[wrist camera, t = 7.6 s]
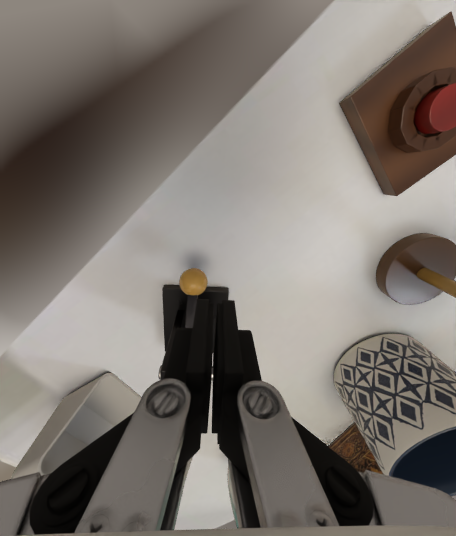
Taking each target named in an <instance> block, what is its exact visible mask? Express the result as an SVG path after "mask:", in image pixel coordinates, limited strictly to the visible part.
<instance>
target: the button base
mask: <svg viewBox="0 0 456 536" xmlns="http://www.w3.org/2000/svg"><path fill="white" fill-rule="evenodd" d="M453 83H456V26H455V22H454V19H453V15H452V12H449V13H448V14H446V15H445V16H444V17H442V18H441V19H439V20H438V21H436V22H435V23H433V24H432V25H430V26H429V27H428V28H427V29H426V30H424V31H423V32H422V33H421V34H420V35H419V36H417V37H416V38H415V39H414V40H413V41H411V42H410V43H409V44H408V45H407V46H406V47H404V48H403V49H402V50H401V51H400V52H399V53H397V54H396V55H395V56H394V57H393V58H392V59H390V60H389V61H388V62H387V63H386V64H384V65H383V66H382V67H381V68H380V69H379V70H377V71H376V72H375V73H374V74H373V75H372V76H370V77H369V78H368V79H367V80H366V81H364V82H363V83H362V84H361V85H360V86H359V87H357V88H356V89H355V90H354V91H353V92H352V93H350V94H349V95H348V96H347V97H346V98H344V99H343V100H342V101H341V102H340V103H339V104H340V106H341V108H342V110H343V112H344V114H345V116H346V118H347V120H348V122H349V124H350V126H351V128H352V130H353V132H354V134H355V136H356V138H357V140H358V142H359V144H360V146H361V148H362V150H363V152H364V155H365V157H366V159H367V161H368V163H369V165H370V167H371V169H372V171H373V173H374V175H375V177H376V179H377V181H378V183H379V185H380V187H381V189H382V191H383V193H384V194H385V195H392V196H398V195H399V194H401V193H402V192H403V191H405V190H406V189H408V188H409V187H410V186H412V185H413V184H415V183H416V182H418V181H419V180H420V179H422V178H423V177H425V176H426V175H427V174H429V173H430V172H432V171H433V170H435V169H436V168H437V167H439V166H440V165H442V164H443V163H444V162H446V161H447V160H449V159H450V158H452V157H453V156H454V155H456V127H454V128H452V129H451V130H448V131H444V132H438V133H433V134H423V133H421V132H419V131H418V130H417V128H416V126H415V122H414V117H415V112H416V109H417V107H418V105H419V103H420V102H421V100H422V99H423V98H424V97H425V96H426V95H427V94H429V93H430V92H432V91H434V90H437V89H439V88H442V87H445V86H447V85H450V84H453Z"/></svg>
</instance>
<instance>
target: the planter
mask: <svg viewBox="0 0 456 536" xmlns="http://www.w3.org/2000/svg"><path fill="white" fill-rule="evenodd" d="M334 384H335V387H336V389H337V391H338V392H339V394H340V396H341V398H342V400H343V402H344V403H345V405H346V407H347V409H348V411H349V413H350V414H351V416H352V418H353V420H354V422H355V423H356V425H357V427H358V429H359V431H360V433H361V434H362V436H363V438H364V440H365V442H366V443H367V445H368V447H369V449H370V451H371V452H372V454H373V456H374V458H375V460H376V462H377V463H378V465H379V467H380V469H381V471H382V472H383V474H384V475H387V476H391V477H395V478H399V479H402V480H406V481H410V482H413V483H417V484H421V485H424V486H428V487H432V488H436V489H438V490H440V491H442V492H445V493H447V494H448V495H450V496H455V495H456V373H455V372H454V371H453V370H452V369H451V368H449V367H448V366H447V365H446V364H445V363H443V362H442V361H441V360H440V359H439V358H438V357H436V356H435V355H434V354H433V353H432V352H430V351H429V350H428V349H427V348H426V347H424V346H423V345H422V344H421V343H420V342H418V341H417V340H415V339H414V338H412V337H409V336H406V335H402V334H384V335H379V336H375V337H372V338H369V339H367V340H364V341H362V342H360V343H359V344H357V345H355V346H354V347H353V348H351V349H350V350H349V351H348V352H347V353H346V354H345V355H344V356H343V357H342V358H341V359H340V361H339V363H338V364H337V366H336V369H335V372H334Z"/></svg>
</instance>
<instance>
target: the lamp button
mask: <svg viewBox="0 0 456 536" xmlns="http://www.w3.org/2000/svg"><path fill="white" fill-rule="evenodd" d="M414 122H415V126H416V128H417V130H418V131H419V132H421V133H423V134H433V133H438V132H444V131H448V130H451V129H452V128H454V127H456V83H453V84H450V85H447V86H445V87H442V88H439V89H437V90H434V91H432V92H430V93H429V94H427V95H426V96H425V97H424V98H423V99H422V100H421V102H420V103H419V105H418V107H417V109H416V112H415V117H414Z"/></svg>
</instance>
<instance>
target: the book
mask: <svg viewBox="0 0 456 536" xmlns="http://www.w3.org/2000/svg"><path fill="white" fill-rule="evenodd" d="M328 447H330V448H331V449H332V450H333V451H335V452H336V453H337V454H338V455H340V456H341V457H342V458H343V459H345V460H346V461H347V462H348V463H350V464H351V465H352V466H353V467H354V468H355V469H356V470H357V471H358V472H362V473H364V472H365V470H369V471H373V472H376V473H380V474H383V472H382V471H381V469H380V467H379V465H378V463H377V462H376V460H375V458H374V456H373V454H372V452H371V451H370V449H369V447H368V445H367V443H366V442H365V440H364V438H363V436H362V434H361V433H360V431H359V429H358V427H357V425H356V423H355V422H354V423H353V424H352V425H351V426H350V427H349V428H348V429H347V430H346V431H345V432H344V433H342V434H341V435H340V436H339V437H338V438H337V439H336V440H335V441H334V442H333V443H331V444H330V445H329V446H328Z"/></svg>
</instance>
